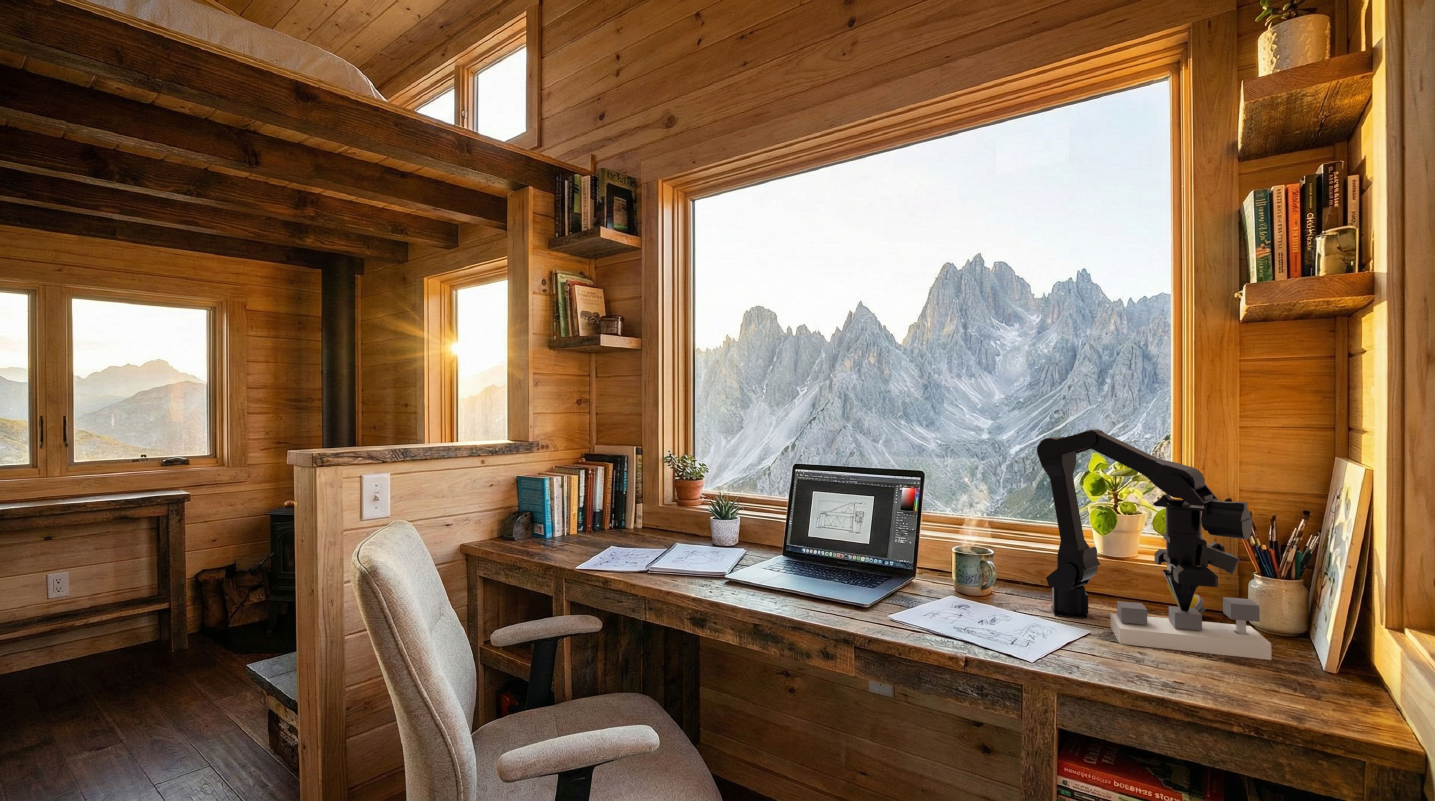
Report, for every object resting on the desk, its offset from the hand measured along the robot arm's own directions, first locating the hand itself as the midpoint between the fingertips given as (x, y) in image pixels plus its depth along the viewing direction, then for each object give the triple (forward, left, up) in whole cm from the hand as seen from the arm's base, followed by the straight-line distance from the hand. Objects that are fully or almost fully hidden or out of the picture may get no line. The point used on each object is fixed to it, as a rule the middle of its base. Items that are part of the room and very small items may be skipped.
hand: (1184, 610), depth 130 cm
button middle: (0, 0, -6) cm, 7 cm away
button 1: (-9, 0, -6) cm, 11 cm away
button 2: (+9, 0, -4) cm, 10 cm away
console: (0, 0, -6) cm, 6 cm away
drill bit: (+5, +19, -6) cm, 21 cm away
